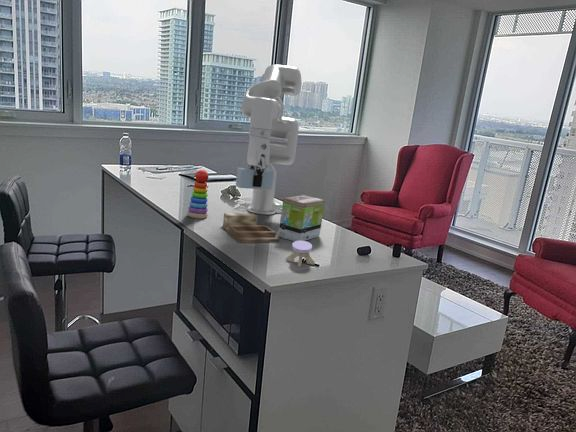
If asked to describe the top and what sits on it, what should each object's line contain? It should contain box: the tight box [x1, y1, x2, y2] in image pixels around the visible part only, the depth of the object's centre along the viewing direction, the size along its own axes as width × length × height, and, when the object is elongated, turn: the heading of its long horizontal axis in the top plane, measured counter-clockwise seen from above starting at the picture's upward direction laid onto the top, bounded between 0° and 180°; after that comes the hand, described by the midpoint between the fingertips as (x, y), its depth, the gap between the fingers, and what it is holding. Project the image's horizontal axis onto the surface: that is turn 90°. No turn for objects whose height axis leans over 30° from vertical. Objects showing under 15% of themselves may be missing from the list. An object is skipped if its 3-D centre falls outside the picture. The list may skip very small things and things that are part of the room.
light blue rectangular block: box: [235, 167, 273, 190], centre depth 168 cm, size 12×4×6 cm, turn 116°
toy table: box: [285, 240, 316, 268], centre depth 147 cm, size 10×9×6 cm
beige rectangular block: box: [222, 212, 258, 228], centre depth 180 cm, size 12×4×5 cm, turn 116°
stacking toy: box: [186, 169, 209, 219], centre depth 186 cm, size 8×8×19 cm
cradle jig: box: [224, 224, 281, 243], centre depth 170 cm, size 15×16×2 cm
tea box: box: [277, 194, 326, 242], centre depth 175 cm, size 15×10×15 cm
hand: (254, 184), depth 169 cm, fingers closed on light blue rectangular block, 4 cm apart
